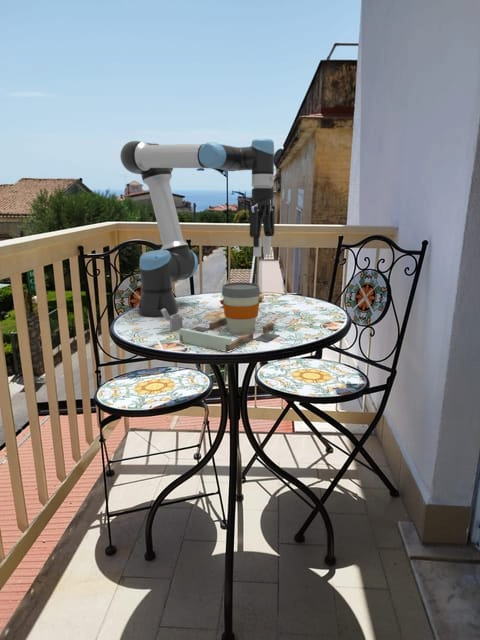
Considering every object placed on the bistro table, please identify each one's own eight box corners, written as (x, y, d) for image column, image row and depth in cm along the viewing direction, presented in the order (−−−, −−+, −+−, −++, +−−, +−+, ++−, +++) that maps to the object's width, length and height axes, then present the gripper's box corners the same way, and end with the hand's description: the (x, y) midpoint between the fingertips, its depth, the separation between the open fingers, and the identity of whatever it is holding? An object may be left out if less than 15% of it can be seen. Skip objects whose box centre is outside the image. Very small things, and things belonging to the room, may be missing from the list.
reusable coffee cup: (227, 336, 135) (226, 290, 131) (218, 326, 147) (218, 283, 143) (264, 333, 139) (265, 288, 135) (253, 323, 150) (253, 281, 146)
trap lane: (217, 319, 155) (217, 313, 155) (287, 331, 140) (287, 325, 140) (167, 338, 134) (167, 332, 133) (244, 355, 119) (244, 348, 118)
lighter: (180, 328, 145) (179, 305, 143) (183, 329, 144) (182, 306, 142) (161, 331, 141) (160, 308, 139) (163, 333, 140) (162, 309, 138)
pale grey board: (182, 340, 132) (181, 328, 131) (231, 351, 122) (231, 338, 121) (180, 341, 131) (179, 329, 130) (229, 352, 121) (229, 339, 120)
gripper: (258, 186, 136) (257, 259, 142) (285, 188, 151) (283, 253, 158) (238, 187, 140) (238, 257, 146) (266, 188, 155) (266, 252, 162)
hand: (262, 255), depth 152 cm, fingers open, 6 cm apart
